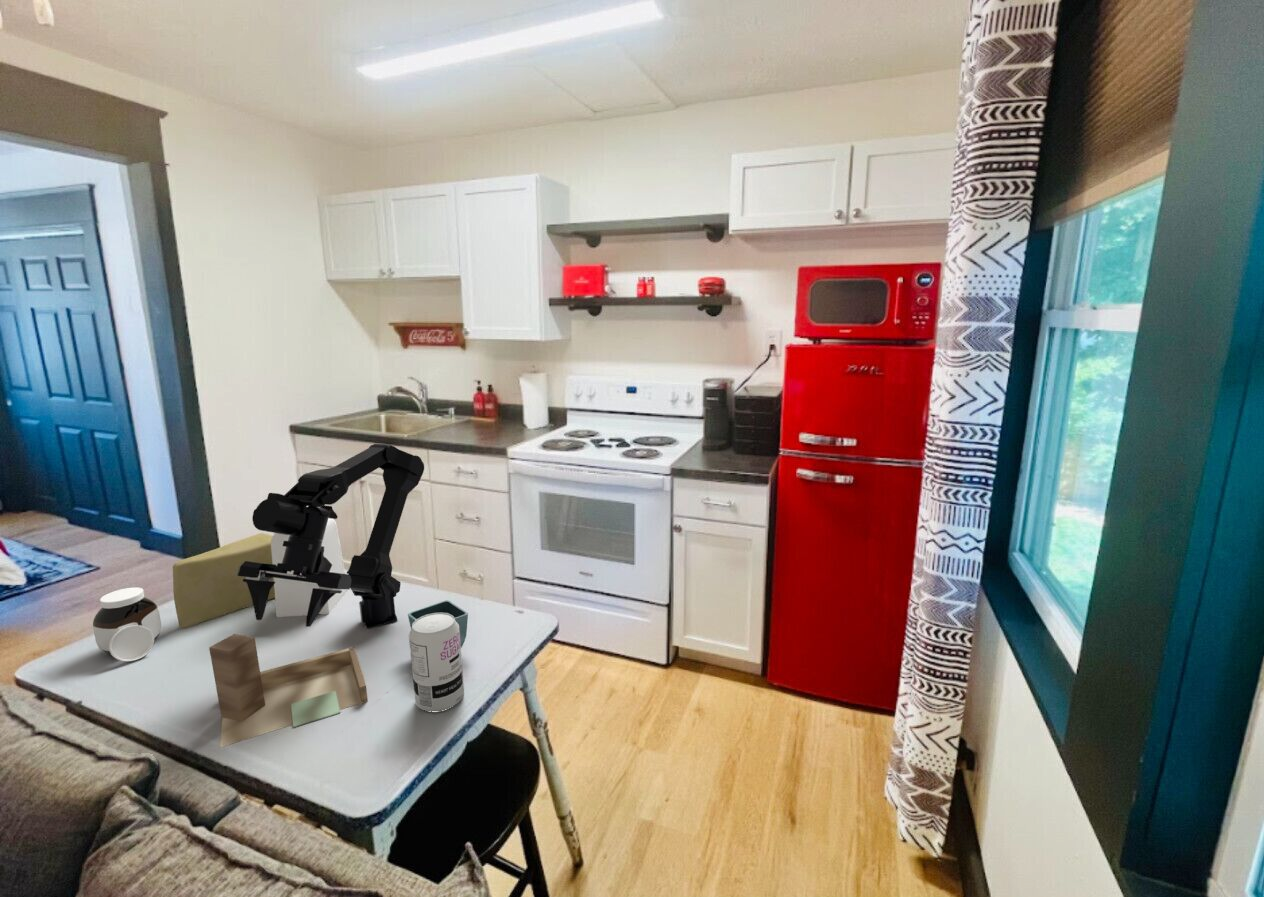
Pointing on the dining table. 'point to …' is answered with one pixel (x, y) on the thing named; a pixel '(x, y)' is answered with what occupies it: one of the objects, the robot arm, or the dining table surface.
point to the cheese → (217, 580)
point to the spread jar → (126, 624)
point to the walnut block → (237, 677)
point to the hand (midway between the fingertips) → (283, 623)
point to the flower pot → (444, 607)
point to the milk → (297, 594)
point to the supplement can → (436, 662)
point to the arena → (302, 695)
